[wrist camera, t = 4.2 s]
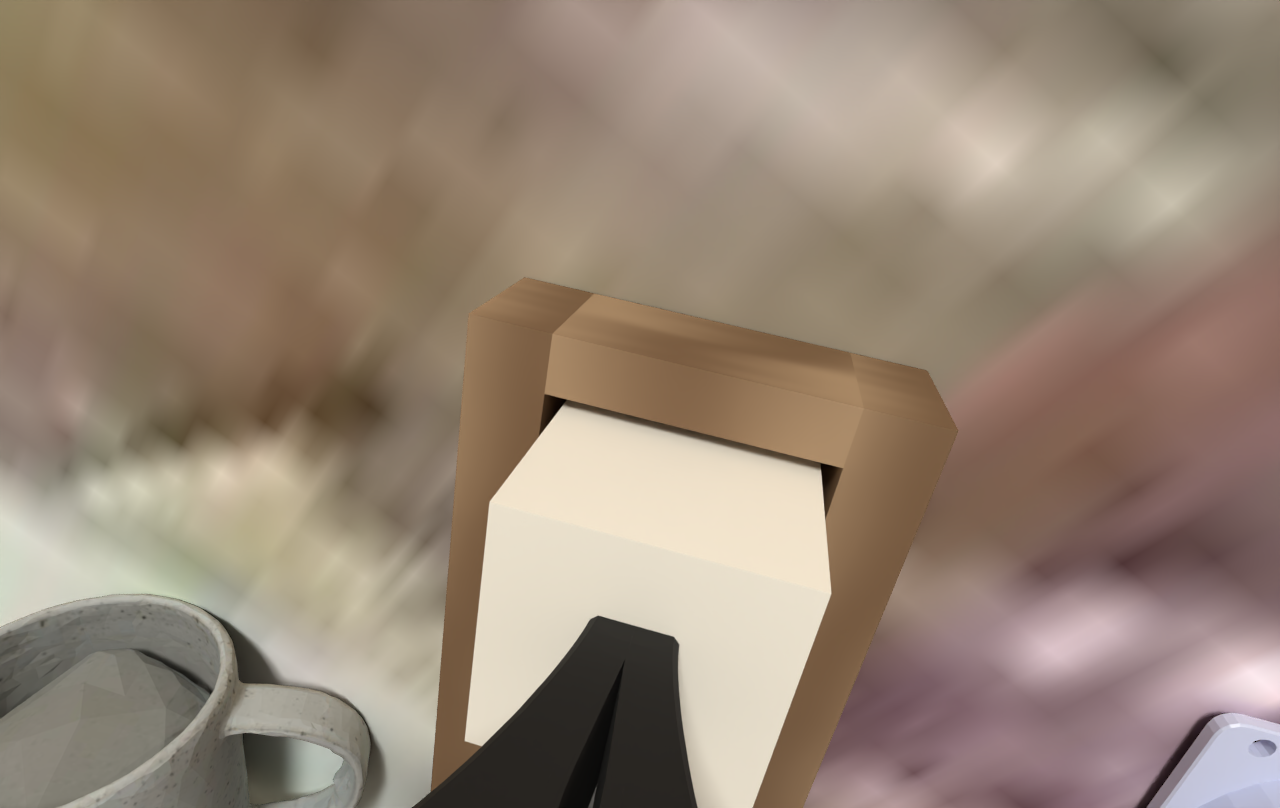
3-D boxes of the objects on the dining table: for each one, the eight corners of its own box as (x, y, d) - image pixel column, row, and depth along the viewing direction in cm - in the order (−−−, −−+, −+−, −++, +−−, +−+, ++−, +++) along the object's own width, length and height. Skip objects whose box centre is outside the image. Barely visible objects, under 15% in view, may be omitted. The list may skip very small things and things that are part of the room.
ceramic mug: (115, 750, 26) (-131, 992, 19) (67, 568, 22) (-254, 780, 15) (389, 822, 24) (235, 1109, 18) (382, 642, 21) (189, 907, 14)
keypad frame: (927, 370, 15) (958, 430, 12) (672, 1047, 26) (658, 1156, 23) (524, 277, 16) (468, 313, 13) (447, 969, 27) (409, 1066, 24)
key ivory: (820, 461, 13) (831, 593, 10) (755, 657, 15) (745, 827, 12) (567, 398, 14) (489, 501, 10) (538, 597, 16) (464, 741, 12)
